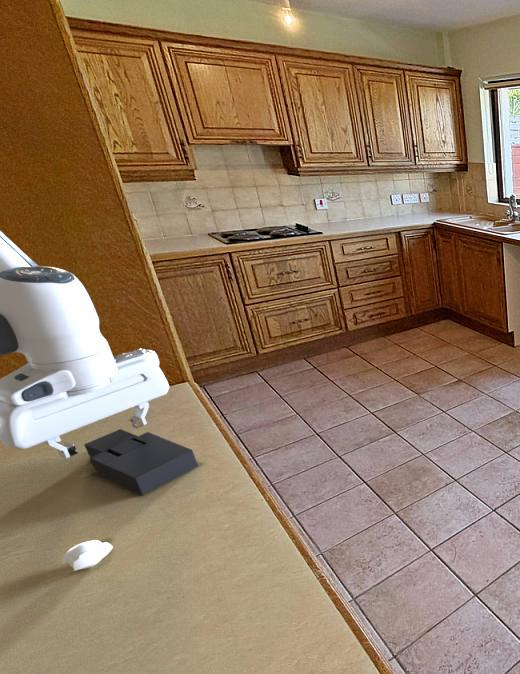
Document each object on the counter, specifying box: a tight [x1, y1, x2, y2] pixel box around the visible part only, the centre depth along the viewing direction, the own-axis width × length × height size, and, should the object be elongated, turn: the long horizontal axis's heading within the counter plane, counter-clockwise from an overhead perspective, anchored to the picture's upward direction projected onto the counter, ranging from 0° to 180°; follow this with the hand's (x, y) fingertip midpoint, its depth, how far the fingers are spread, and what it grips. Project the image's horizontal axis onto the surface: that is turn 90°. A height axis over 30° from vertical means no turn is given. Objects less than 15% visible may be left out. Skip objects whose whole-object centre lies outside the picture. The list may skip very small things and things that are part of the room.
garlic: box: [60, 539, 113, 572], centre depth 62 cm, size 5×3×5 cm
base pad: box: [89, 431, 199, 496], centre depth 79 cm, size 12×8×4 cm, turn 69°
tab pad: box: [83, 428, 143, 458], centre depth 81 cm, size 8×5×4 cm, turn 69°
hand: (106, 440), depth 81 cm, fingers open, 8 cm apart
